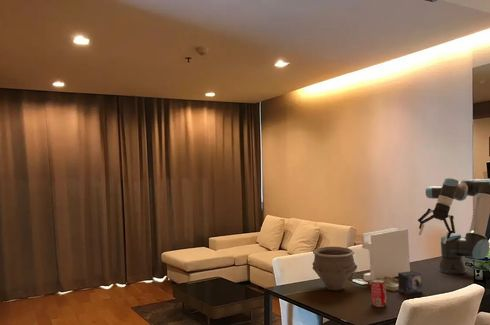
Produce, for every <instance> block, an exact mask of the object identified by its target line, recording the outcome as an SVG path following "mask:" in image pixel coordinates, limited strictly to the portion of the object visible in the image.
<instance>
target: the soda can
mask: <svg viewBox="0 0 490 325" xmlns="http://www.w3.org/2000/svg"><path fill="white" fill-rule="evenodd" d="M370 292H371V293H370V294H371V296H370V297H371V304H372V305H373V306H374V307H377V308H384V307H385V306H386V305H387V301H388V299H387V290H386V285H385V283H384V280H380V279H375V280H372V283H371V285H370Z"/></svg>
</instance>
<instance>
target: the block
mask: <svg viewBox="0 0 490 325" xmlns="http://www.w3.org/2000/svg"><path fill="white" fill-rule="evenodd" d="M361 245H362V246H361V247H362V249H366V250H368V251H369V266H370V268H369V269H370V272H366V273H363V281H366V282H369V280H371V279H376V278H380V277H385V276H387V277H390V278H396V277H398V273H401V272H410V271H411V267H410V265H411V264H410V242H409V229H408V228H402V229H399V227H393V228H387V229H382V230H376V231H370V232H365V233H364V232H363V233H361Z"/></svg>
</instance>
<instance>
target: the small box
mask: <svg viewBox="0 0 490 325" xmlns="http://www.w3.org/2000/svg"><path fill="white" fill-rule="evenodd" d="M397 277H398V278H397V279H398V280H399V291H398V293H401V294H403V295H405V296H406V295H407V296H408V295H415V294H416V295H417V294H422V293H423V285H422V284H423V282H422V280H423V279H422V273H420V272H417V271H414V270H413V271H411V270H410V272H401V273H398V276H397Z"/></svg>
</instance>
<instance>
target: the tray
mask: <svg viewBox="0 0 490 325" xmlns="http://www.w3.org/2000/svg"><path fill="white" fill-rule="evenodd" d="M376 279H380V280H384V283H385V285H386V291H390V292H393V293H394V292H399V280H398V278H395V277H393V278H390V277H387V276H385V277H380V278H376ZM372 280H375V279H371V280H369V281H368V285H369V286H371V283H372Z"/></svg>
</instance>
